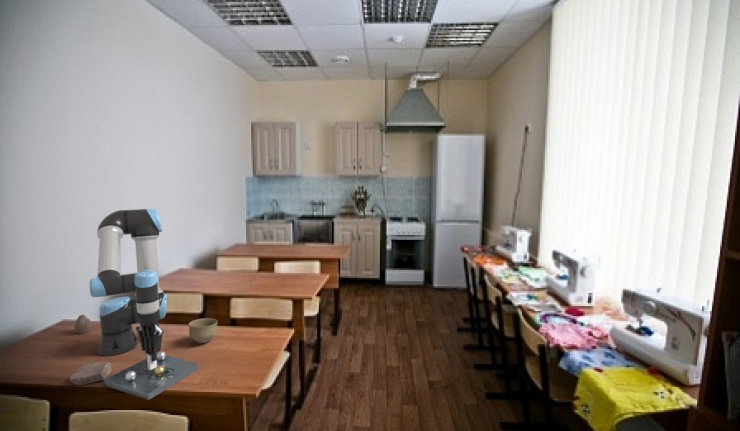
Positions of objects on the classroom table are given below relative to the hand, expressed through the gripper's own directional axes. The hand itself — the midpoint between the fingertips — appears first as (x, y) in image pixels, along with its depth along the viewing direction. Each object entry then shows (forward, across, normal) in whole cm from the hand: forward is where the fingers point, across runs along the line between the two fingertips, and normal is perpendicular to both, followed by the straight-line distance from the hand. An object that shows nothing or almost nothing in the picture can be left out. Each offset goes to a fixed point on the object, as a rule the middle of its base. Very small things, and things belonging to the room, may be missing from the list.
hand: (152, 368), depth 141 cm
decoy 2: (0, -2, -7) cm, 8 cm away
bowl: (+4, -6, +31) cm, 32 cm away
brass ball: (0, +4, 0) cm, 4 cm away
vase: (+4, -73, +16) cm, 75 cm away
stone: (+4, -22, -10) cm, 25 cm away
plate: (+4, 0, 0) cm, 4 cm away
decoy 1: (0, -5, +8) cm, 9 cm away
